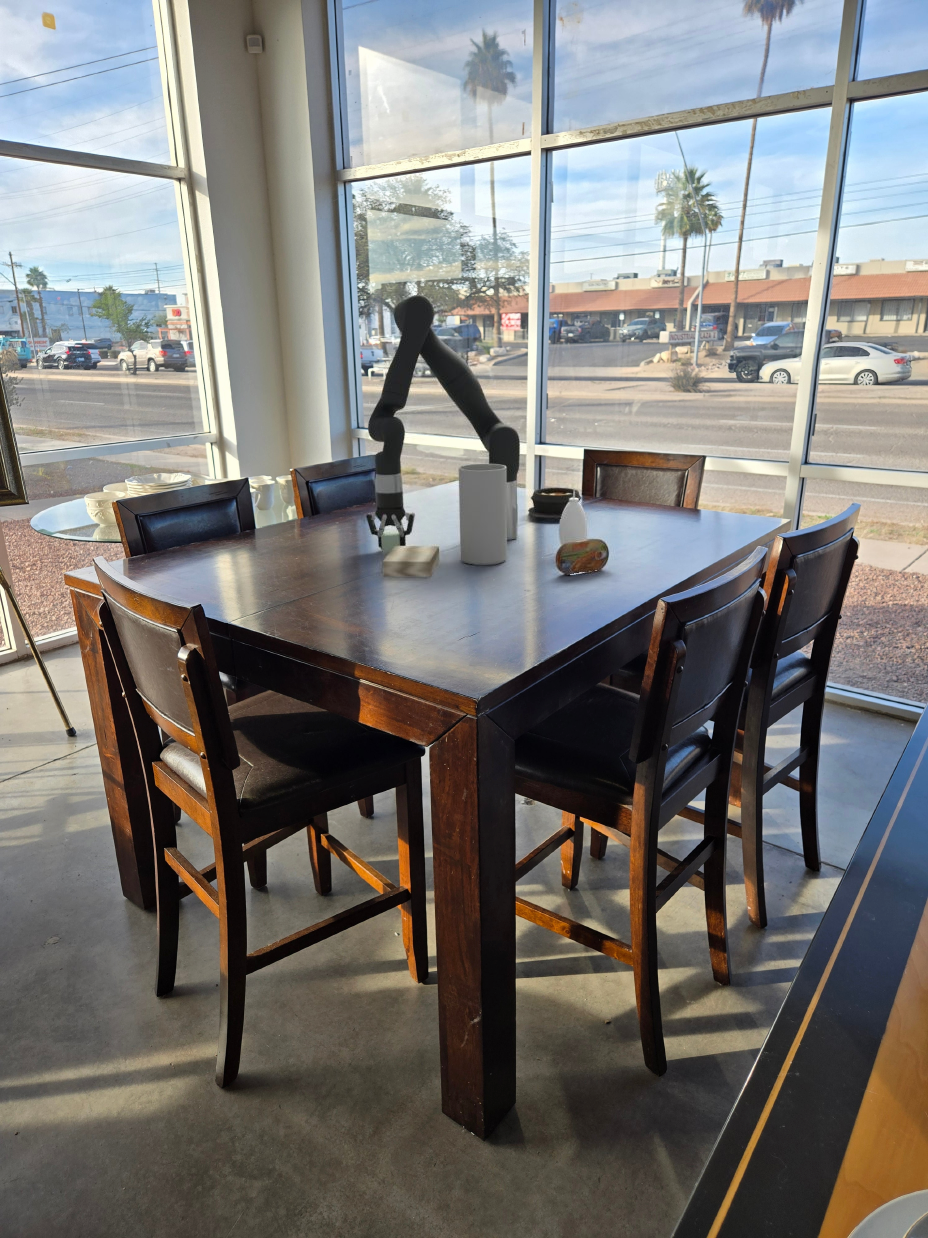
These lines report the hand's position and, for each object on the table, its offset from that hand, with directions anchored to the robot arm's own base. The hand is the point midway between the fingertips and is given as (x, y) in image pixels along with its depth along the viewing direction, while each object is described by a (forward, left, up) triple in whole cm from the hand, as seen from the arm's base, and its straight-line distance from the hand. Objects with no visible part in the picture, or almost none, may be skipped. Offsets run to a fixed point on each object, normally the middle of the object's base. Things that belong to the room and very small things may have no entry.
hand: (392, 548), depth 227 cm
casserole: (-46, -50, -1) cm, 68 cm away
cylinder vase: (-27, +9, -1) cm, 28 cm away
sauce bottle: (-51, +1, -1) cm, 51 cm away
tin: (-53, +20, -1) cm, 57 cm away
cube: (0, 0, -1) cm, 1 cm away
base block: (-9, +18, -1) cm, 20 cm away
